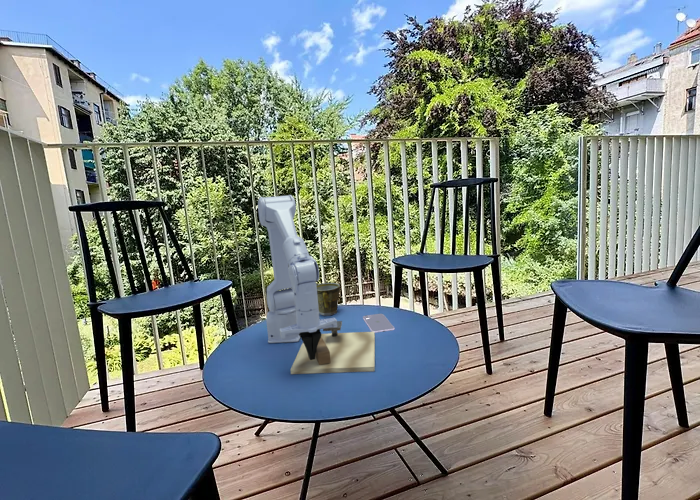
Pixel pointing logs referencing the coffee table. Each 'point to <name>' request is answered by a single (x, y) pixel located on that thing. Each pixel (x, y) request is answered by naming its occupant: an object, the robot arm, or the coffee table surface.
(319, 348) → the link
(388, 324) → the mobile phone
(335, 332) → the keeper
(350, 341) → the base plate
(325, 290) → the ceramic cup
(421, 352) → the coffee table surface
